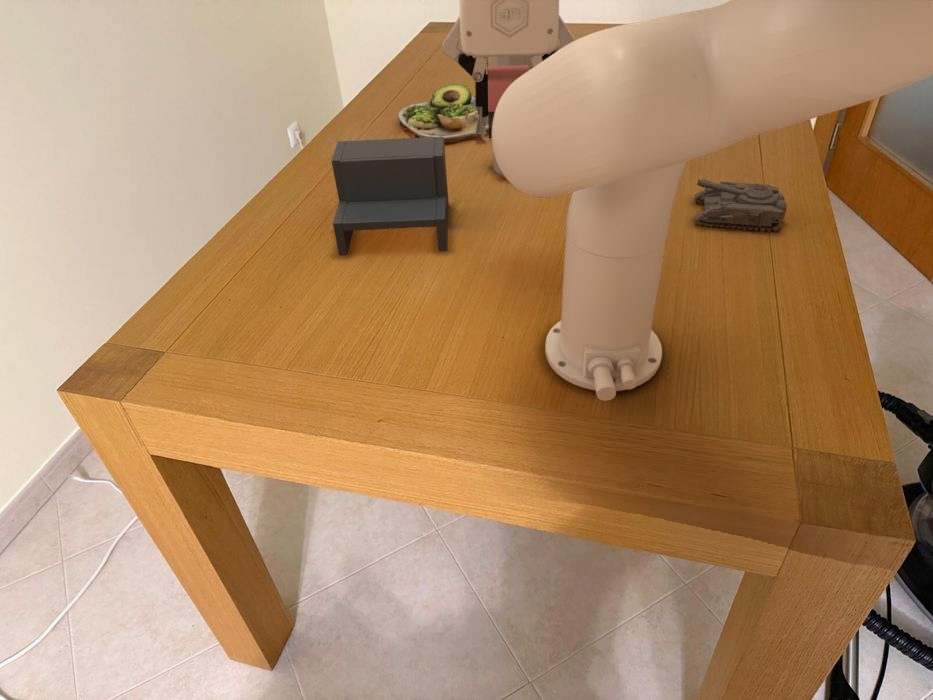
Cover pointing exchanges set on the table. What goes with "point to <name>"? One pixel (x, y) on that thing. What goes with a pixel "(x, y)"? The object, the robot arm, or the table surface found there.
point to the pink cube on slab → (500, 86)
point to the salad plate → (445, 115)
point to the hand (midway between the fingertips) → (508, 110)
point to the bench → (390, 187)
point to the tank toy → (740, 205)
